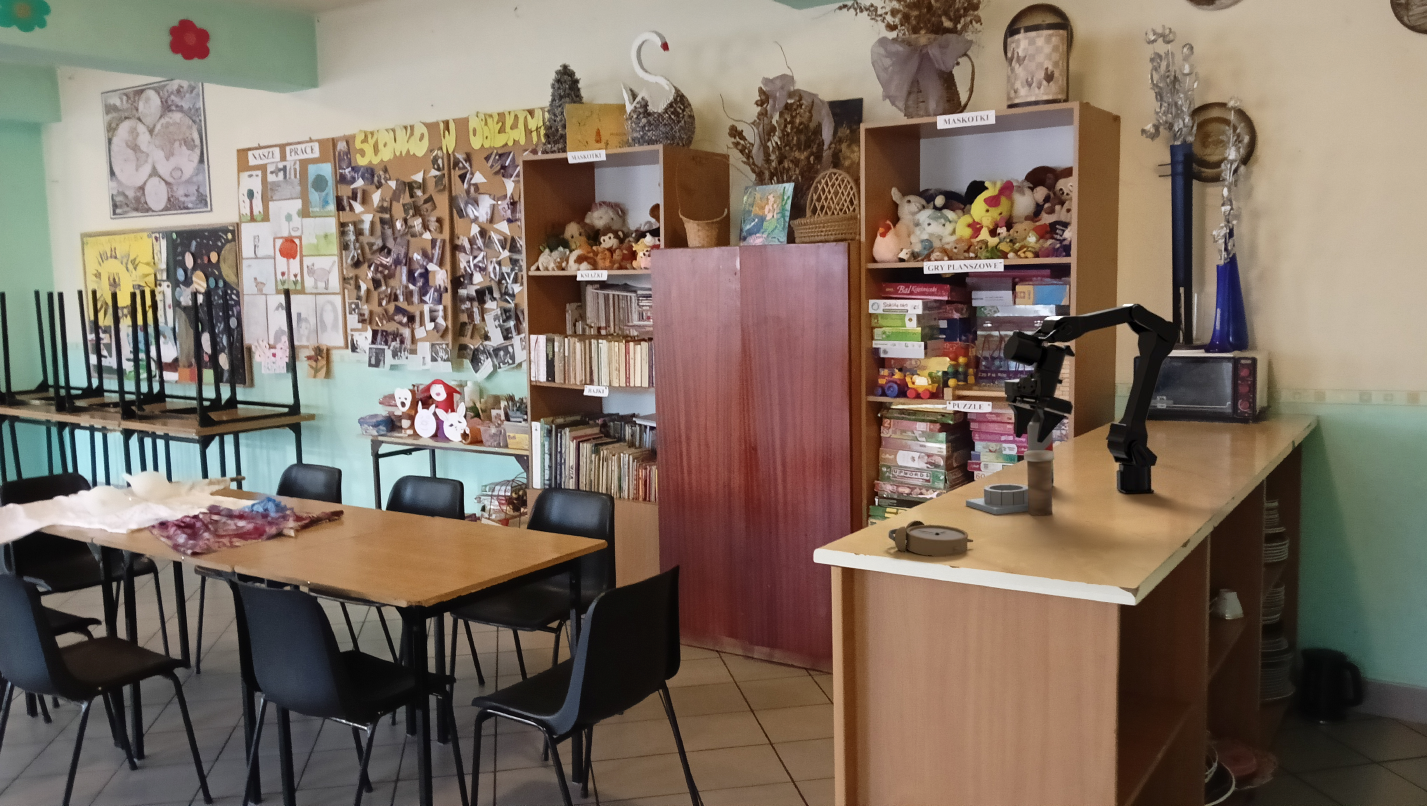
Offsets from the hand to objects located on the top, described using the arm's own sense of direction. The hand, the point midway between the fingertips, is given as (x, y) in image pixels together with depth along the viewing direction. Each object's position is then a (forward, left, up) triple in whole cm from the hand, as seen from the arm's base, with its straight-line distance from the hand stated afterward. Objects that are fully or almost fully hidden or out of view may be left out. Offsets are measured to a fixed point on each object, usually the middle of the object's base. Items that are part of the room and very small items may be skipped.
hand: (1028, 440), depth 236 cm
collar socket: (+6, +4, -14) cm, 16 cm away
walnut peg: (+1, +13, -14) cm, 19 cm away
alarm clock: (+29, +40, -14) cm, 51 cm away
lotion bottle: (-7, -19, -14) cm, 25 cm away
